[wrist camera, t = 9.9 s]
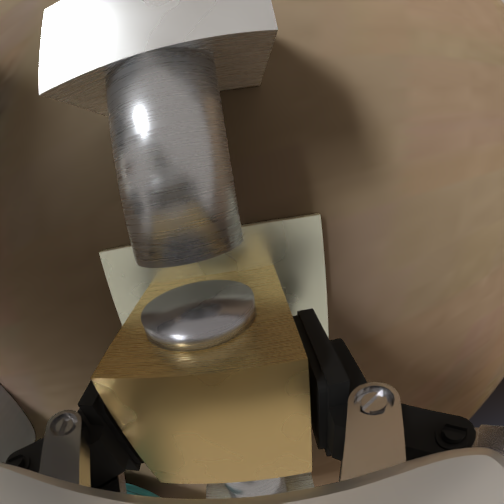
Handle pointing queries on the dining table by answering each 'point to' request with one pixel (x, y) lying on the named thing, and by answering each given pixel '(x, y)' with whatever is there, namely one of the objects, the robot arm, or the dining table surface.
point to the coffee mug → (13, 426)
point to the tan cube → (212, 380)
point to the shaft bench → (180, 149)
